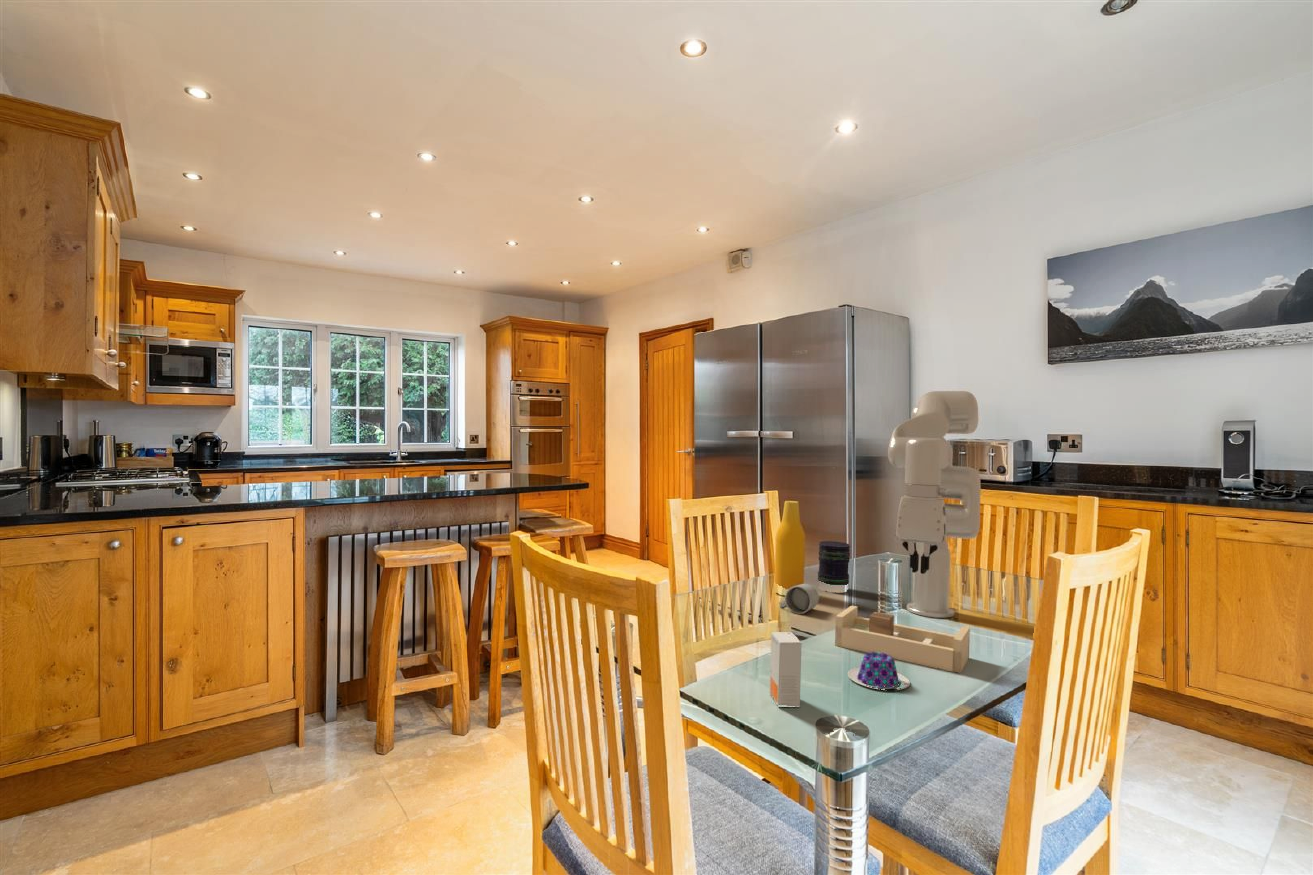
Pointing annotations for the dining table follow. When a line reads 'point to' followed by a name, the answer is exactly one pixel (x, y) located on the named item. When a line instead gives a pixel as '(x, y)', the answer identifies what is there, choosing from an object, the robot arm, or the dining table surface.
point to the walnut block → (881, 623)
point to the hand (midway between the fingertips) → (919, 571)
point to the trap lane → (904, 642)
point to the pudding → (877, 671)
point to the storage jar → (833, 562)
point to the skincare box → (785, 668)
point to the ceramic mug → (800, 598)
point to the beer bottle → (790, 548)
